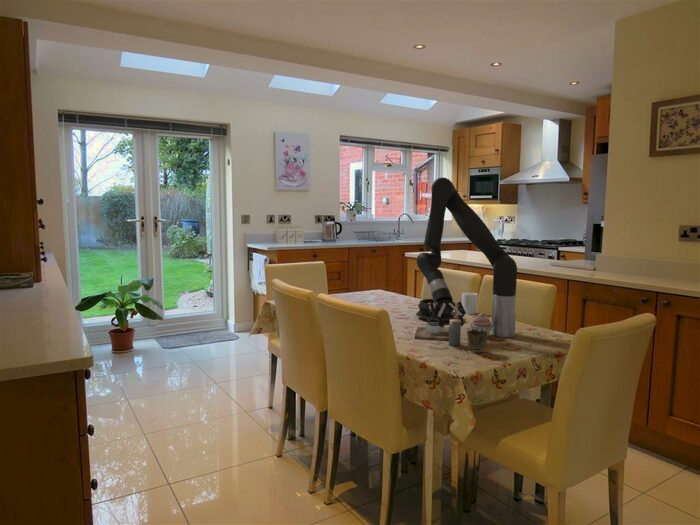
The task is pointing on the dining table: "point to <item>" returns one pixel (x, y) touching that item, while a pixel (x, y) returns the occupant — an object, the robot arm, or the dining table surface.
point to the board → (423, 335)
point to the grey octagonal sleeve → (434, 328)
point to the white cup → (469, 302)
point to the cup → (477, 340)
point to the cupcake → (482, 323)
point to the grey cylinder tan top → (454, 332)
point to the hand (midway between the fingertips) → (452, 325)
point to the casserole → (425, 311)
